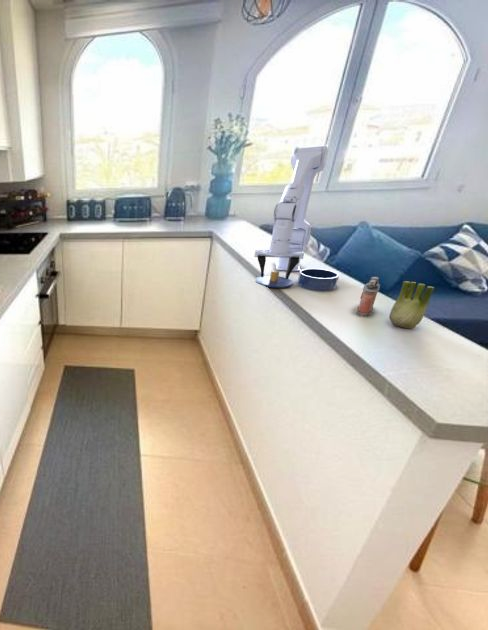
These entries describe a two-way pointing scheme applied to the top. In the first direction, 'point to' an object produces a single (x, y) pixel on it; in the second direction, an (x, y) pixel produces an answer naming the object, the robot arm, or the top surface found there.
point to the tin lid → (274, 280)
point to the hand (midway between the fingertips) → (274, 277)
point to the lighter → (368, 297)
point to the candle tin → (318, 279)
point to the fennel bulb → (410, 305)
